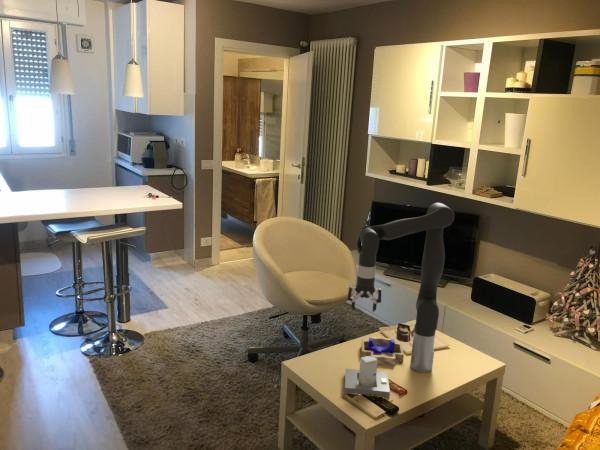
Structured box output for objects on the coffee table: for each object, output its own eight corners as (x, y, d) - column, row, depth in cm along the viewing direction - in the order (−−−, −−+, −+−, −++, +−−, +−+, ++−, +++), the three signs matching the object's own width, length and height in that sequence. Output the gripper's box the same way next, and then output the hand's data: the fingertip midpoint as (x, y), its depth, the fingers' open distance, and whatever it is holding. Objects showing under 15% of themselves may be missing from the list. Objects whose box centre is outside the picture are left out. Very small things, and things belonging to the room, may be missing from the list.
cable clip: (368, 353, 237) (369, 341, 236) (368, 348, 241) (369, 337, 240) (393, 355, 236) (395, 343, 235) (393, 350, 240) (394, 339, 239)
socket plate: (386, 378, 216) (387, 371, 215) (389, 398, 201) (390, 390, 200) (345, 374, 217) (345, 367, 216) (344, 394, 203) (345, 386, 202)
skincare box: (363, 389, 206) (365, 362, 203) (357, 383, 210) (359, 357, 207) (376, 386, 208) (378, 360, 205) (370, 380, 212) (372, 354, 209)
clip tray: (400, 346, 245) (400, 339, 244) (403, 366, 227) (404, 359, 226) (361, 342, 247) (361, 336, 246) (361, 362, 228) (362, 355, 227)
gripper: (382, 273, 215) (379, 307, 219) (349, 270, 216) (347, 305, 220) (383, 279, 208) (380, 315, 212) (349, 276, 209) (346, 312, 213)
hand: (363, 310), depth 216 cm, fingers open, 8 cm apart
